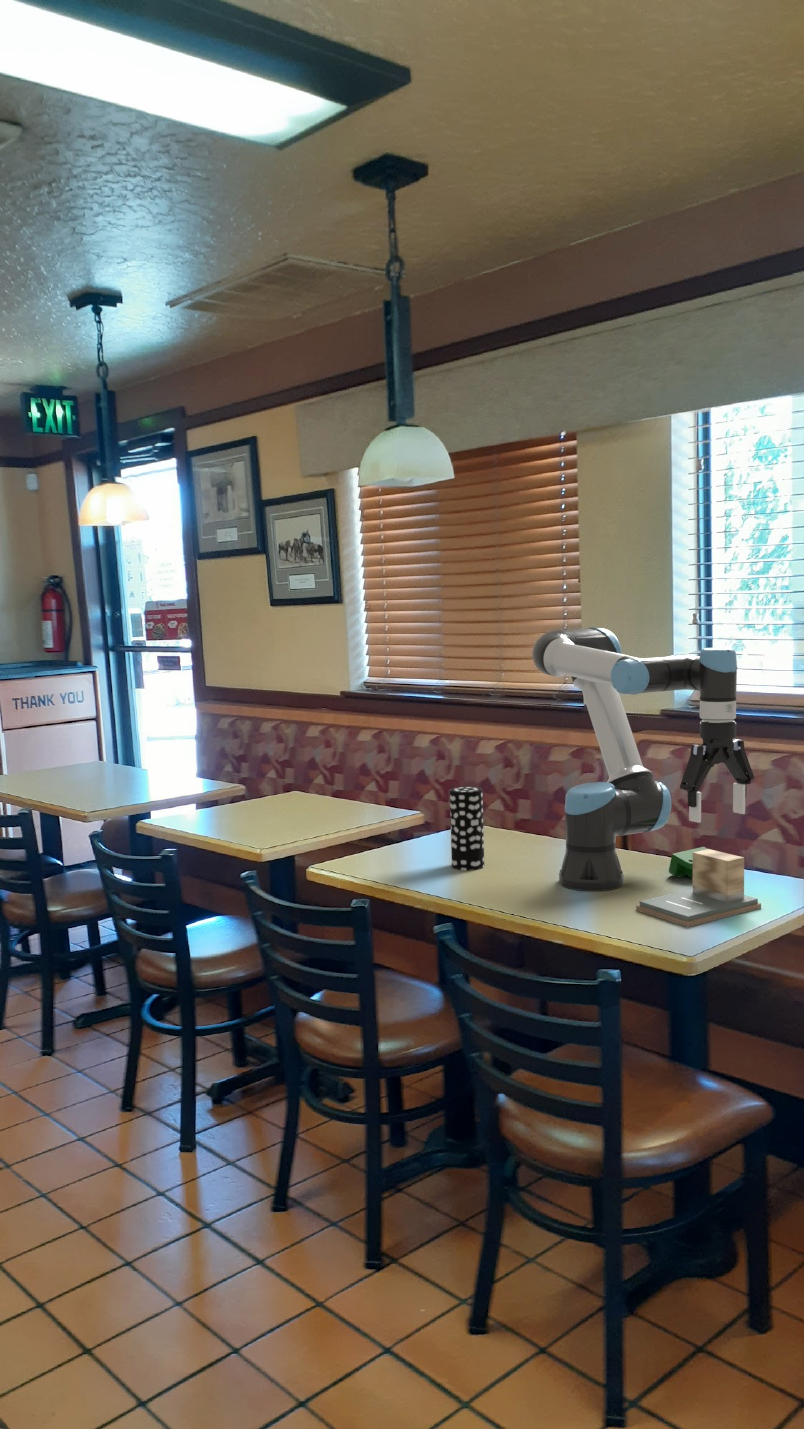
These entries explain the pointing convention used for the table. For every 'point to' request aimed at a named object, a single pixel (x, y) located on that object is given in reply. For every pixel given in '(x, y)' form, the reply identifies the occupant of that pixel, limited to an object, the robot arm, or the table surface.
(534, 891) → the table surface
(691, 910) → the slate board
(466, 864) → the white-spotted black cylinder
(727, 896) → the wooden block
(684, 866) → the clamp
